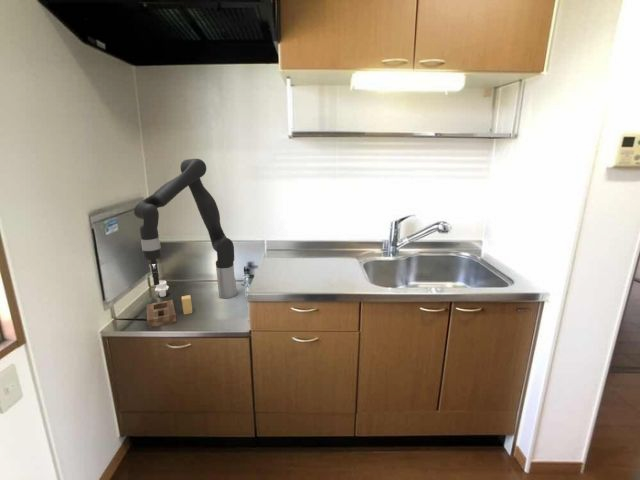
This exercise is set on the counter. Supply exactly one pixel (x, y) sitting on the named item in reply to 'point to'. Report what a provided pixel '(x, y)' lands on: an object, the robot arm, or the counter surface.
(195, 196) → the robot arm
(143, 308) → the counter surface
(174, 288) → the counter surface
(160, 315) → the socket block
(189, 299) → the square peg
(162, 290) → the pipe fitting
